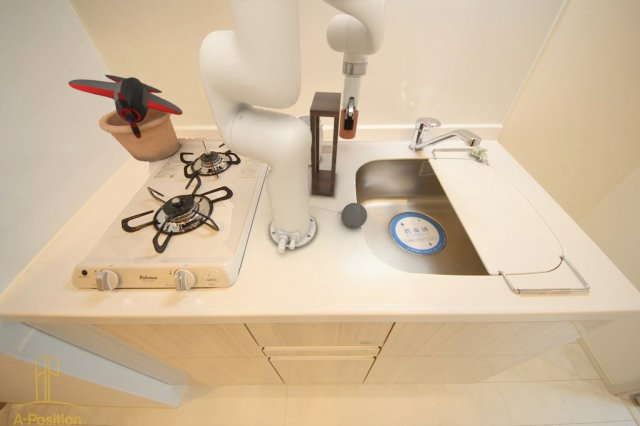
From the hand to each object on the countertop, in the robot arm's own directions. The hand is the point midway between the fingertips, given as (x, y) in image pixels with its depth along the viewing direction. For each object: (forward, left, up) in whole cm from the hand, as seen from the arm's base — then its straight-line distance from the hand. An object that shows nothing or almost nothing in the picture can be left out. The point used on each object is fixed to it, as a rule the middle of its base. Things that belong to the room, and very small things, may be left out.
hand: (348, 124), depth 79 cm
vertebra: (0, -51, -10) cm, 51 cm away
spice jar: (0, 0, -4) cm, 4 cm away
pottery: (-7, +76, -11) cm, 77 cm away
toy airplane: (-9, +67, +16) cm, 70 cm away
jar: (-7, +14, -12) cm, 19 cm away
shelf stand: (-21, +7, -11) cm, 25 cm away
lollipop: (-38, +4, -6) cm, 38 cm away
